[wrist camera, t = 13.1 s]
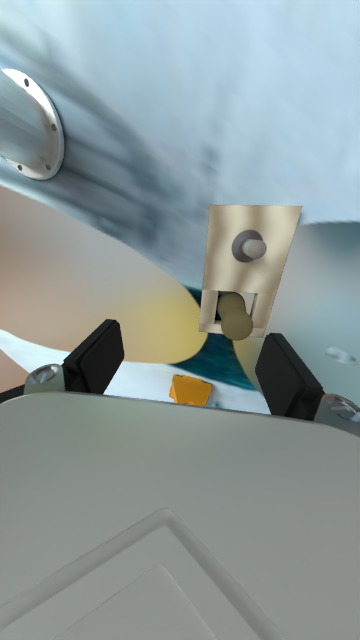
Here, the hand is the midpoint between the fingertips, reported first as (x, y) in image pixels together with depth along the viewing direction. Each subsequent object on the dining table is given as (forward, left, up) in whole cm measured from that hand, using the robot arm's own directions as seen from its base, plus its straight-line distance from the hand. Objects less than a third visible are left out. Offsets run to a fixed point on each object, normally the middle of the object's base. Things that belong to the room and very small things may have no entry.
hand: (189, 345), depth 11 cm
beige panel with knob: (+7, -1, -26) cm, 27 cm away
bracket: (-1, -33, -27) cm, 43 cm away
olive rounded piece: (+7, -7, -27) cm, 28 cm away
